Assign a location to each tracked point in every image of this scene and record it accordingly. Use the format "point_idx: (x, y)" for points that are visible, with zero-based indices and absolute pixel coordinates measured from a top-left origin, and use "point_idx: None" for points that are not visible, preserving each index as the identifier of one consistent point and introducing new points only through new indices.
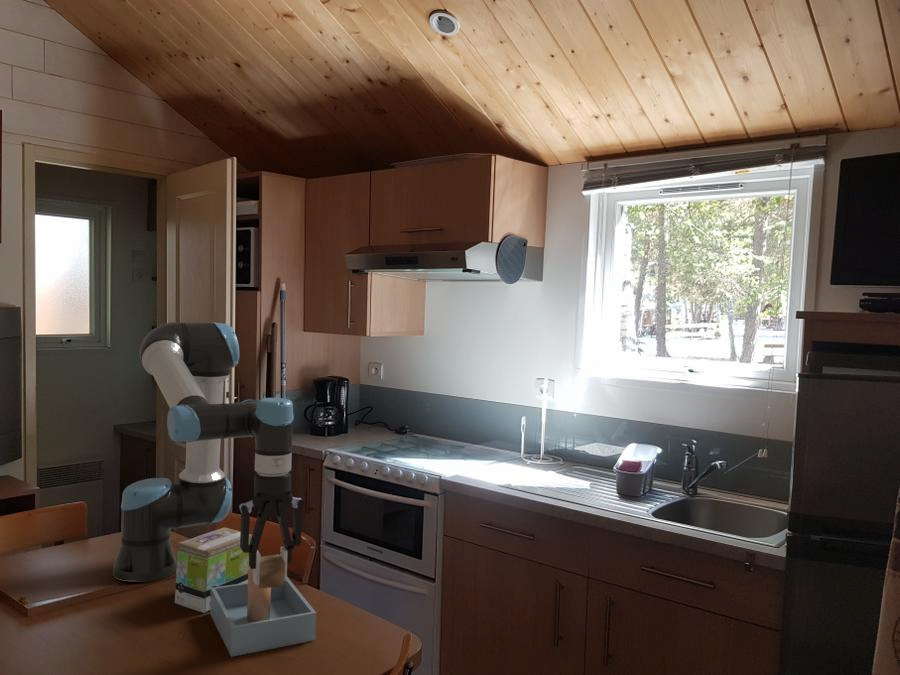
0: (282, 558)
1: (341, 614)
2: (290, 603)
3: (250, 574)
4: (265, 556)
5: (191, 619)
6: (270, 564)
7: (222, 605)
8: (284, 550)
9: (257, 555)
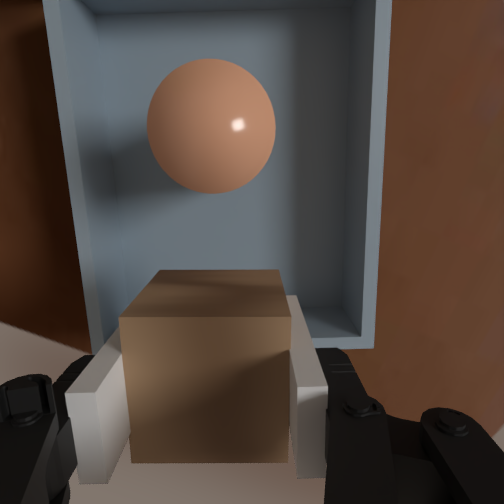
0: (289, 401)
1: (484, 182)
2: (351, 93)
3: (155, 157)
4: (187, 326)
5: (26, 30)
6: (191, 460)
7: (75, 171)
8: (305, 465)
9: (86, 481)
